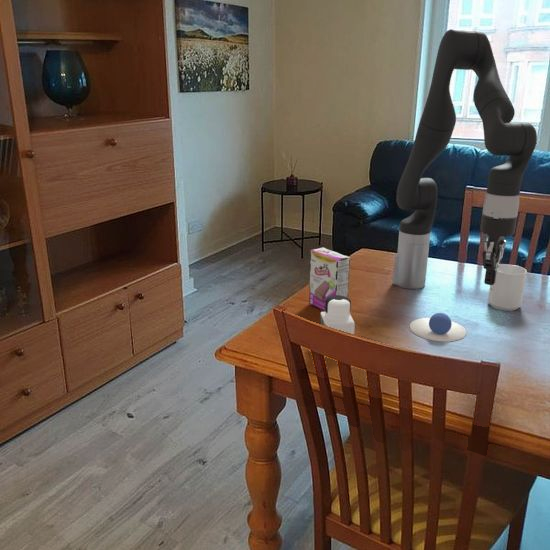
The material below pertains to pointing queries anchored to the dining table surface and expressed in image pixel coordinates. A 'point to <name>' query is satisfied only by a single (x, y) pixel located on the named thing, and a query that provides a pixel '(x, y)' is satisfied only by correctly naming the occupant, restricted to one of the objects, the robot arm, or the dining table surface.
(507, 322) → the dining table surface
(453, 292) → the dining table surface
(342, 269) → the candy bar box
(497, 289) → the mug
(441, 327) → the ball
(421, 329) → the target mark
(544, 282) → the dining table surface
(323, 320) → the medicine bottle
